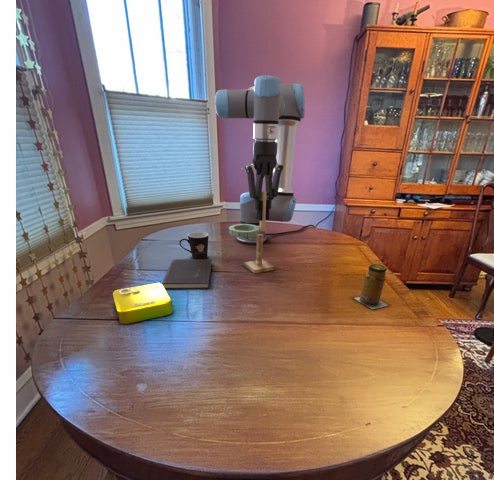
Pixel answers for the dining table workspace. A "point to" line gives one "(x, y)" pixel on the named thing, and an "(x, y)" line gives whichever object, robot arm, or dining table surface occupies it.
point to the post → (259, 259)
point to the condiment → (373, 287)
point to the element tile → (142, 303)
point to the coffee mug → (197, 244)
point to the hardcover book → (188, 274)
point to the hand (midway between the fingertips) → (262, 219)
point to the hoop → (253, 229)
